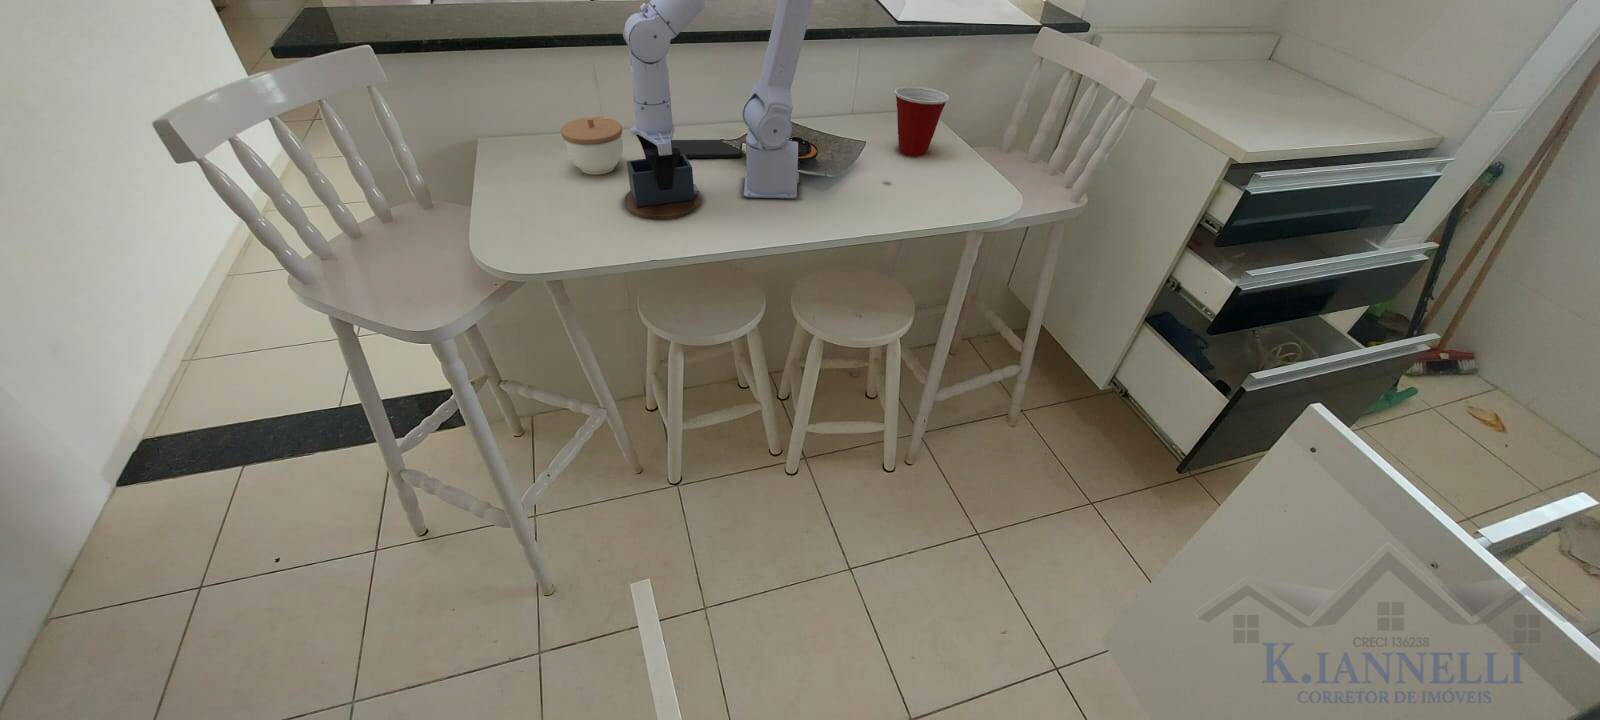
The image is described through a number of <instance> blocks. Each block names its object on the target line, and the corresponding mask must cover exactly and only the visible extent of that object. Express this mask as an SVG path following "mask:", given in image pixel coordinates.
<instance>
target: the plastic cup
mask: <svg viewBox="0 0 1600 720" xmlns="http://www.w3.org/2000/svg"><path fill="white" fill-rule="evenodd" d="M894 94H895V99H896V100H895V101H896V113H897V117H896V118H897V136H898V138H897V140H898V141H897V143H898V151H899V153H901V154H902V155H904V156H906V157H913V158H919V157H923V156H926V154H927V153H928V151H929V149H930V145H931V143H932V139H933V138H934V135H935V132H936V129H937V125H938V123H939V120H940V117H941V115H942V113H943V110H944V108H945V106H946V104H947V102H949V100H950V96H949V95H948V94H947V93H945V92H943V91H941V90H937V89H934V88H929V87H923V86H900V87H897V88H895V89H894Z"/></svg>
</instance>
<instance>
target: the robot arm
mask: <svg viewBox="0 0 1600 720" xmlns="http://www.w3.org/2000/svg"><path fill="white" fill-rule="evenodd" d="M705 3H706V0H650V1H649V2H648V3H647V4H646V3H645V2H643V3H642V4H641V5H640V6H639V9H640V12H635V13H633V14H632V15H630V16H629V17H628V18H627V19H626V22H625V23H624V28H623V32H622V37H623V40H624V41H625V43H626V45H627V46H628V47H629V48H630V49H629V50H628V52H629V59H628V61H629V64H630V67H629V68H630V69H629V71H630V79H631V88H632V89H631V90H632V97H633V103H634V104H633V105H634V111H635V120H636V125H632V126H629V133H630V134H631V135H633V136H636V138H637V140H638V141H639V143H640V145H641V148H642V150H643V154H644V159H647V158H648V160H649V161H650V163H651V165H652V168H653V171H654V175H655V179H656V182H657V185H658V188H659V190H660V191H662V190H669V189H672V185H673V179H674V172H675V167H676V164H677V162H678V159H679V158H680V155H681V151H680V149H679V148H671V140H673V136H674V133H675V125H674V123H673V112H672V111H673V110H672V99H671V89H670V77H669V68H668V66H667V65H668V64H667V55H668V53H669V50H670V48H671V40H673V39H675V38H676V37H677V36H678V35H679V34H680V33H681V32H682V31H683V30H684V29H685V28H686V27H687V26H688V25H689V24H691V22H693V20H694V19H695V18H696V17H697V16H698V15H699V14H700V13H701V12H702V11H703V10H704V9H705V6H706V5H705ZM813 5H814V0H778V1H777V6H776V10H775V13H774V18H773V22H772V26H771V31H770V35H769V39H768V44H767V48H766V52H765V57H764V60H763V65H762V69H761V74H760V78H759V79H758V80H757V81H756V82H755V83H754V85H753V86H752V90H751V93H750V95H749V97H748V99H746V101H745V102H744V104H743V106H742V111H741V117H742V121H743V122H744V124H745V126H746V127H748V131H747V133H746V135H745V136H746V137H745V159H746V160H745V161H746V162H745V164H746V167H745V169H746V176H745V177H744V189H743V197H744V198H758V199H759V198H760V199H796V198H798V184H799V183H800V173H799V171H798V170H799V169H798V168H799V142H798V141H793V140H790V138H791V136H792V133H793V123H792V113H793V108H794V107H793V100H792V99H793V98H792V93H791V89H792V85H793V81H794V77H795V73H796V70H797V65H798V63H799V62H798V61H799V58H800V54H801V50H802V46H803V44H804V40H805V35H806V31H807V29H808V28H807V27H808V23H809V20H810V16H811V12H812V9H813V8H812V7H813Z"/></svg>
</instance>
